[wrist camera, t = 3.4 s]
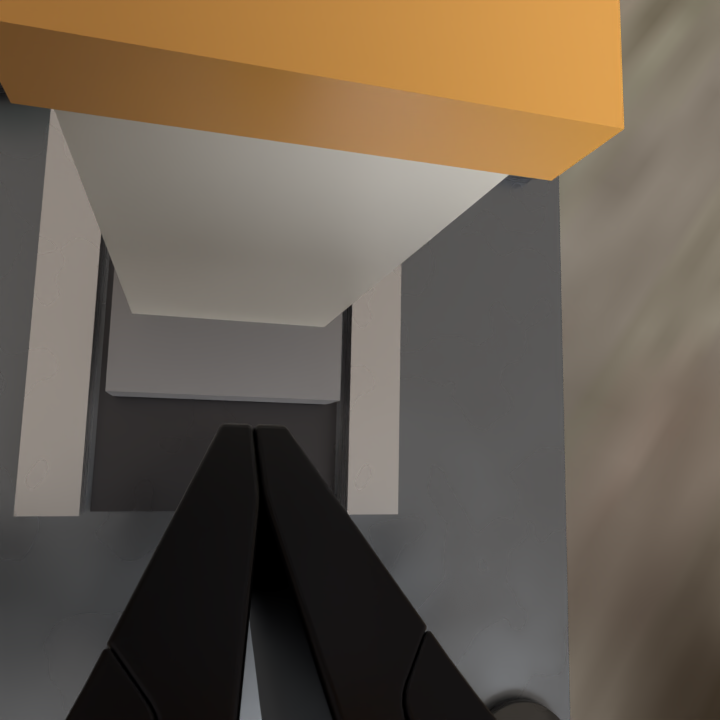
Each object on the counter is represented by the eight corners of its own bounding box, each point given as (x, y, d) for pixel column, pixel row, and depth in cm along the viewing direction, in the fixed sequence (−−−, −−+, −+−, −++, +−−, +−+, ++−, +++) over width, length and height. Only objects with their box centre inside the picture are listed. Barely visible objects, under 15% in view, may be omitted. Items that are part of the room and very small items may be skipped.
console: (540, 847, 17) (599, 912, 15) (-280, 974, 13) (-388, 1098, 10) (528, 22, 21) (574, -34, 18) (-128, -118, 16) (-184, -217, 14)
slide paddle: (326, 404, 15) (654, 313, 5) (112, 395, 14) (-102, 246, 3) (332, 203, 16) (630, -275, 5) (128, 179, 15) (-11, -505, 4)
